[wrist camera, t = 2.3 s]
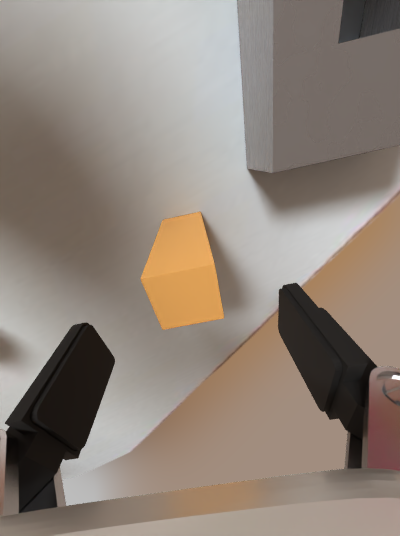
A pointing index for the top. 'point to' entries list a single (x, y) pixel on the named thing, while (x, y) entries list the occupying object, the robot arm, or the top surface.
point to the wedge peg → (182, 274)
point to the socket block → (317, 82)
